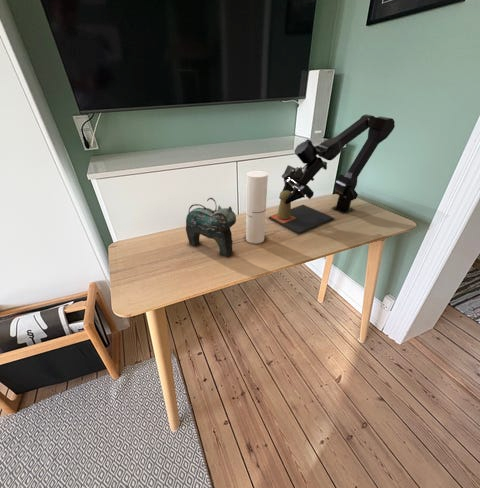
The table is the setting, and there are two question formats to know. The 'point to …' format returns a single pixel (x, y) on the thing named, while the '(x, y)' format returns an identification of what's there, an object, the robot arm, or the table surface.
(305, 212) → the rubber mat
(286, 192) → the cork
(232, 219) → the ceramic cat
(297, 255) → the table surface
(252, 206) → the cylindrical container
